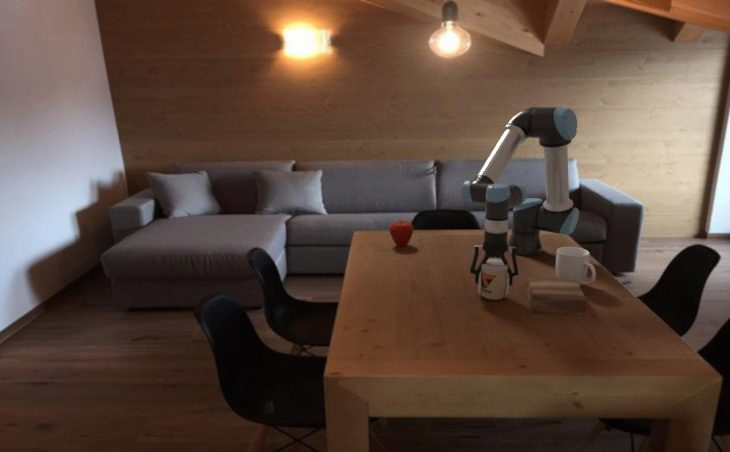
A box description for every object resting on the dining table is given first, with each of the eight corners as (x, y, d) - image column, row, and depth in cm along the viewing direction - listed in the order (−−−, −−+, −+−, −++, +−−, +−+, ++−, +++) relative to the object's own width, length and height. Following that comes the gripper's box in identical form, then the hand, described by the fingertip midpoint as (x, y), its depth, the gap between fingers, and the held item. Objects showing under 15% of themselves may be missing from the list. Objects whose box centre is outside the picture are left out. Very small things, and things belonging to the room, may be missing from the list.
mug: (602, 289, 179) (606, 255, 175) (583, 297, 173) (587, 261, 169) (565, 277, 191) (568, 244, 187) (547, 283, 185) (550, 250, 181)
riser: (526, 293, 176) (527, 277, 175) (574, 296, 173) (576, 280, 171) (531, 313, 161) (533, 296, 160) (584, 317, 158) (586, 299, 156)
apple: (390, 241, 238) (390, 217, 234) (413, 242, 236) (413, 217, 233) (388, 249, 227) (388, 223, 224) (412, 249, 226) (412, 224, 222)
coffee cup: (473, 292, 176) (475, 260, 173) (495, 287, 180) (497, 256, 176) (490, 302, 168) (491, 269, 165) (512, 297, 172) (514, 264, 168)
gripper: (463, 232, 166) (461, 295, 172) (530, 235, 162) (526, 298, 168) (463, 226, 173) (461, 286, 179) (528, 228, 169) (524, 289, 175)
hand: (493, 292), depth 174 cm, fingers closed on coffee cup, 9 cm apart
